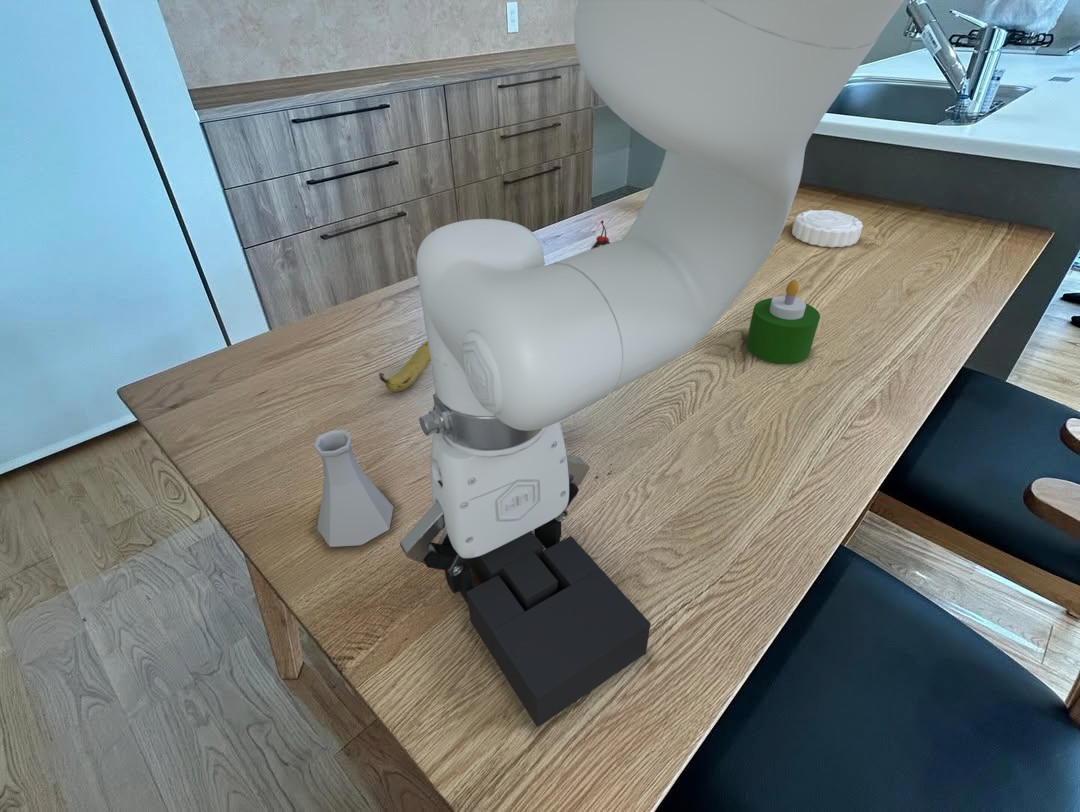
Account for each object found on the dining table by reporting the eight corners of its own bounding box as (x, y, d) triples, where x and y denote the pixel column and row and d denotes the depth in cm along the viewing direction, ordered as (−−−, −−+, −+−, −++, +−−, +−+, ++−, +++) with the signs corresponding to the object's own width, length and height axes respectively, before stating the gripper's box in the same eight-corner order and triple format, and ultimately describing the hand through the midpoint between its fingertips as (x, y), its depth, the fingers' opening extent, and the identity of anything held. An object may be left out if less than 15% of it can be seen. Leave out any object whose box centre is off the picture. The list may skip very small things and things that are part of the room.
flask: (401, 535, 55) (381, 455, 49) (321, 559, 53) (291, 478, 47) (387, 485, 60) (368, 407, 54) (314, 505, 58) (286, 426, 52)
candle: (792, 371, 76) (812, 301, 70) (734, 348, 81) (748, 281, 75) (819, 346, 81) (840, 279, 75) (763, 326, 85) (778, 261, 79)
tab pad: (466, 562, 52) (462, 532, 50) (514, 538, 54) (512, 508, 52) (516, 635, 46) (514, 605, 44) (568, 605, 49) (568, 574, 46)
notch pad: (470, 621, 48) (465, 591, 45) (570, 565, 52) (571, 535, 49) (537, 728, 41) (536, 699, 38) (646, 653, 45) (651, 623, 43)
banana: (431, 361, 79) (427, 335, 77) (444, 366, 78) (441, 340, 76) (377, 399, 73) (371, 372, 70) (392, 404, 72) (386, 377, 69)
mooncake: (848, 226, 117) (854, 208, 115) (866, 249, 108) (872, 230, 105) (786, 224, 119) (790, 206, 117) (798, 246, 109) (803, 227, 107)
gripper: (395, 487, 34) (433, 651, 45) (624, 390, 42) (611, 550, 52) (353, 422, 39) (396, 583, 50) (564, 346, 47) (563, 500, 57)
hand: (506, 566), depth 51 cm, fingers open, 8 cm apart
